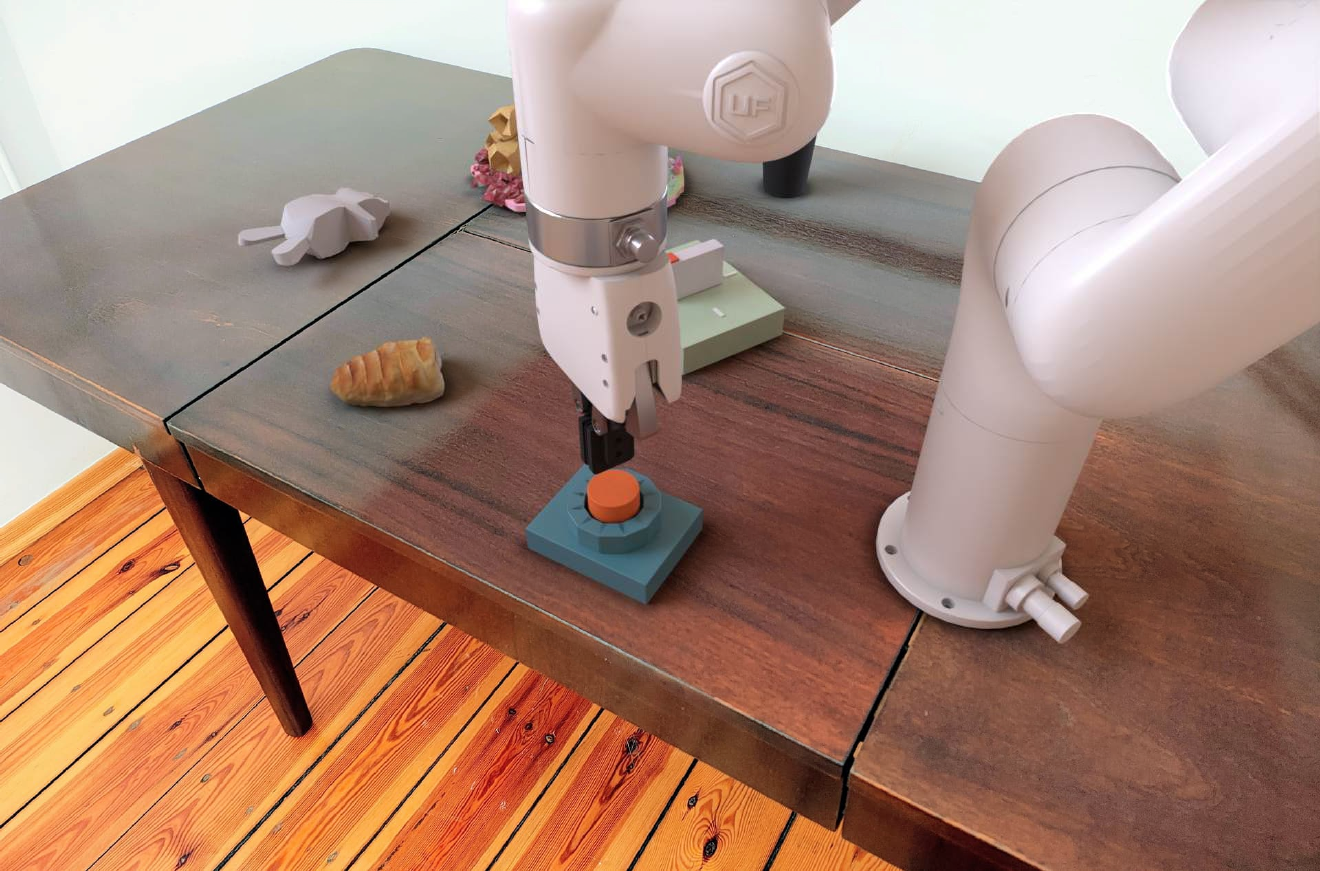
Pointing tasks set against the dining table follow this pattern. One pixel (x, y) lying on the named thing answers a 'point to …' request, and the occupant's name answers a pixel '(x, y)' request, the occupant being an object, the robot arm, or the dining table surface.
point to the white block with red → (697, 267)
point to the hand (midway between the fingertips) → (607, 459)
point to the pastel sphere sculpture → (505, 172)
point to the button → (613, 496)
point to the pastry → (391, 375)
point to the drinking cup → (788, 173)
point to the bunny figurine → (322, 225)
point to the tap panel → (725, 318)
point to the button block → (616, 536)
